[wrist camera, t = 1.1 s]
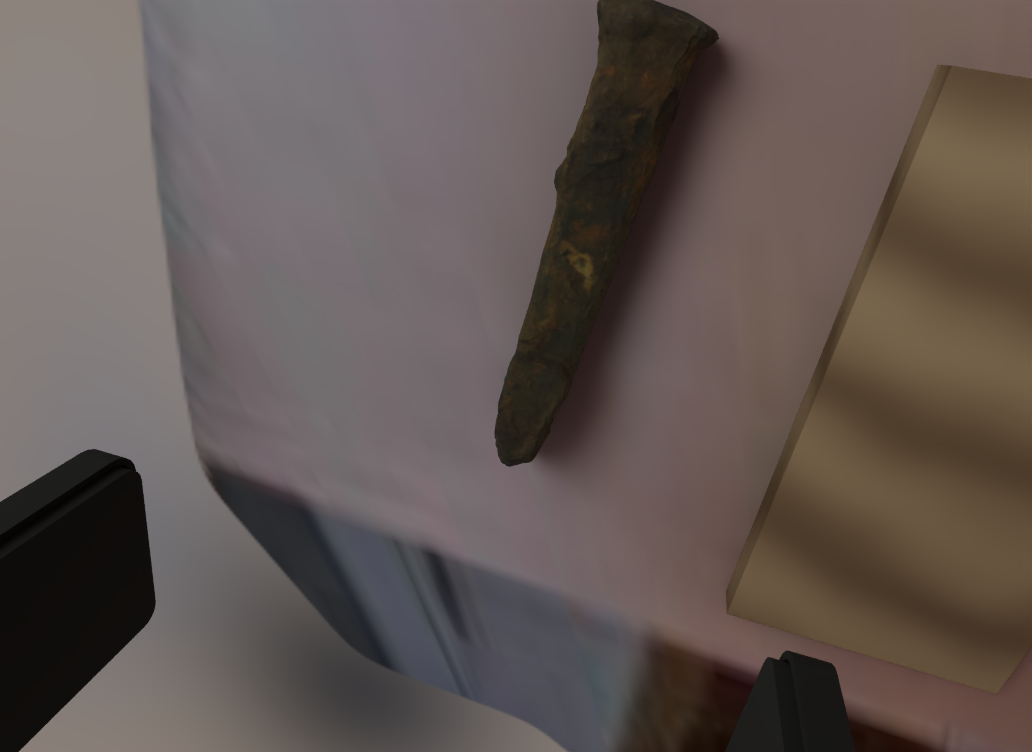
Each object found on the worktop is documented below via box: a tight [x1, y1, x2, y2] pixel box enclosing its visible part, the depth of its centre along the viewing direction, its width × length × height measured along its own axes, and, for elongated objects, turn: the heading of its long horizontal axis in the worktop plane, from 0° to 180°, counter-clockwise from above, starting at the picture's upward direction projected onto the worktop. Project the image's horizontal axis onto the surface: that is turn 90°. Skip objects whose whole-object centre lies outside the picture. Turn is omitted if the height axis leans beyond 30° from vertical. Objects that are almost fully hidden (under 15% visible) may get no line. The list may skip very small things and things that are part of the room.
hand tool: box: [495, 0, 719, 467], centre depth 26 cm, size 19×4×5 cm, turn 162°
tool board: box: [726, 65, 1032, 694], centre depth 26 cm, size 24×12×2 cm, turn 171°
